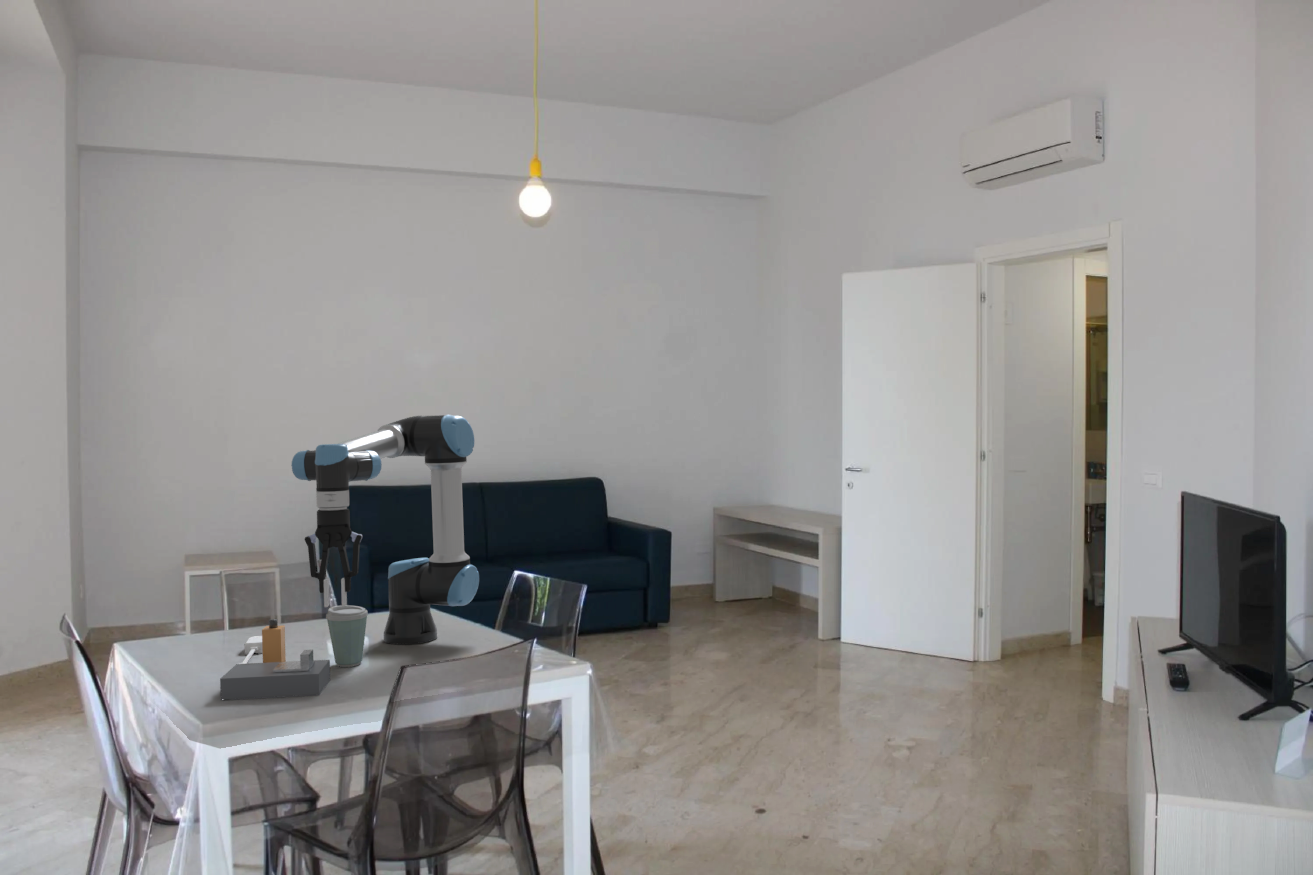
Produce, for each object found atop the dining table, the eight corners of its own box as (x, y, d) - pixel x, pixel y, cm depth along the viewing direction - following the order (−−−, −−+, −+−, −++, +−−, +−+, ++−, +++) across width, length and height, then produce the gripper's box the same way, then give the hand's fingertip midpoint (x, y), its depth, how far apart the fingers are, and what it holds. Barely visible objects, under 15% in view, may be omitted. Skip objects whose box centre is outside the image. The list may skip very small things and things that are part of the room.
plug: (285, 672, 263) (284, 617, 263) (281, 676, 259) (280, 621, 259) (267, 672, 263) (266, 618, 263) (263, 677, 258) (261, 621, 258)
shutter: (314, 662, 251) (314, 647, 251) (308, 670, 244) (307, 655, 243) (280, 664, 250) (280, 649, 250) (272, 672, 242) (272, 657, 242)
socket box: (330, 679, 255) (329, 659, 255) (319, 694, 241) (318, 673, 241) (237, 684, 252) (236, 663, 252) (220, 700, 238) (220, 678, 238)
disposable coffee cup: (375, 659, 275) (373, 603, 275) (361, 669, 264) (359, 611, 264) (336, 659, 276) (334, 603, 275) (320, 669, 265) (319, 611, 265)
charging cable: (228, 677, 263) (228, 664, 263) (251, 644, 295) (251, 633, 295) (249, 676, 264) (249, 663, 264) (270, 643, 296) (270, 632, 296)
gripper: (294, 510, 243) (296, 610, 243) (366, 508, 245) (368, 607, 245) (300, 507, 250) (303, 604, 251) (370, 505, 252) (373, 601, 253)
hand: (335, 605), depth 248 cm, fingers open, 3 cm apart
